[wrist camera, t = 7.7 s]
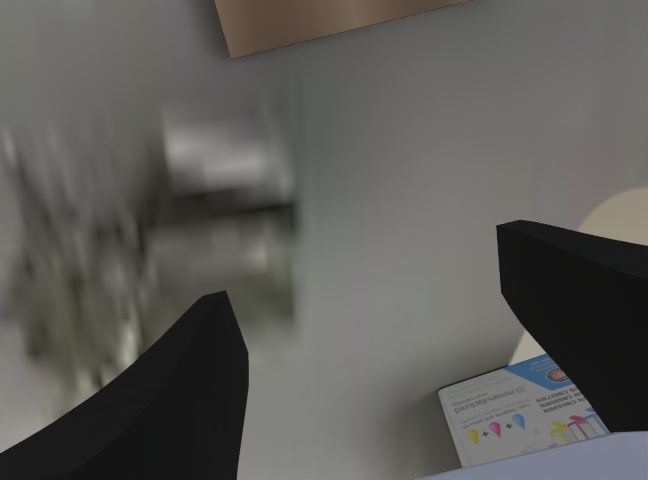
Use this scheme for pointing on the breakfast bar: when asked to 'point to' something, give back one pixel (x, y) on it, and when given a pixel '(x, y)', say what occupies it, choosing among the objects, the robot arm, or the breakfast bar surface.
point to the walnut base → (306, 19)
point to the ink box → (517, 412)
